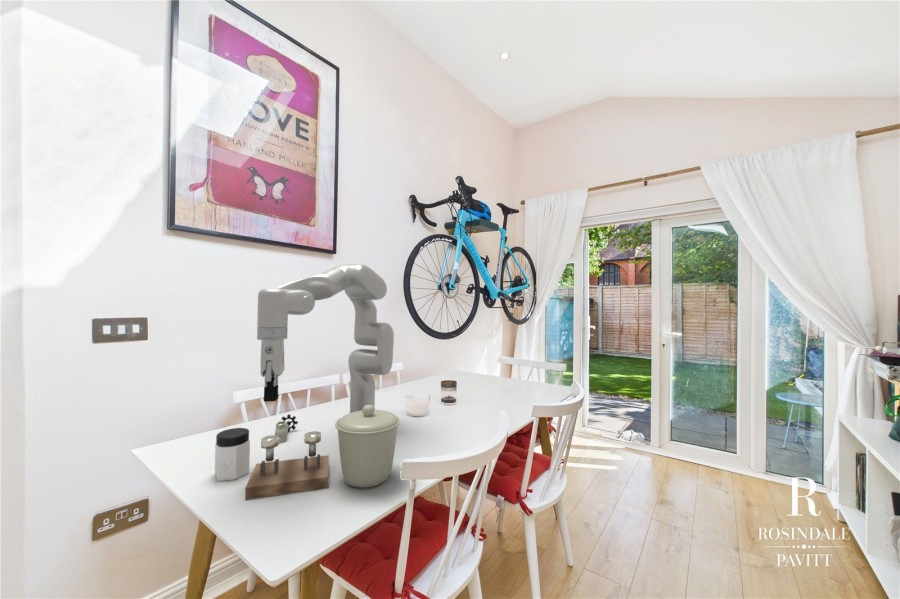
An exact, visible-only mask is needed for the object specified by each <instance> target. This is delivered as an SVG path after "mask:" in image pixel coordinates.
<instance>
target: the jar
mask: <svg viewBox="0 0 900 599" xmlns="http://www.w3.org/2000/svg"><path fill="white" fill-rule="evenodd" d="M215 438H216V441H215V444H214V445H215V446H214V448H215V450H214V451H215V452H214V454H215V455H214V456H215V457H214V476H215V478H216V480H217V481H218V482H224V481H234V480H235V481H236V480H238V479H239V478H241V477H243V476H245V475H247V474H248V473H249V472H250V459H251V458H250V454H251V453H250V452H251V450H250V449H251V448H250V447H251V446H250V445H251V441H250V430H249V429H248V428H245V427H235V428H229V429H225V430H222V431H220V432H218V433H217V434H216V437H215Z"/></svg>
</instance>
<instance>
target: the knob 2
mask: <svg viewBox="0 0 900 599" xmlns="http://www.w3.org/2000/svg"><path fill="white" fill-rule="evenodd" d="M303 439H304V444H306V445H308V457H309V458H310V457H317V456H316V455H317V444H318V443H320V442H321V441H322V432H321V431H319V430H318V431H316V430H315V431H309V432H306V433H305V434H304V438H303Z"/></svg>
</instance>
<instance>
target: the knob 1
mask: <svg viewBox="0 0 900 599" xmlns="http://www.w3.org/2000/svg"><path fill="white" fill-rule="evenodd" d="M279 445H280V443H279V436H277V435H275V434H270V435H266V436H264V437H262V438H261V439H260V448H261V449H265V462H266V463H267V462H274V461H275V457H274V456H275V448H277V447H278V446H279Z"/></svg>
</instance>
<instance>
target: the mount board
mask: <svg viewBox="0 0 900 599" xmlns="http://www.w3.org/2000/svg"><path fill="white" fill-rule="evenodd" d="M316 455H317V456H313V457H310V456H309V455H304V457H303V458H302V457H301V458H293V459H286V460H280V459H279V458H276V459H275V458H274V461H270V462H267V461H266V460H261V462H260V463H255V465H254V468H253V469H252V472H251V475H250V477H249V479H248V480H247V483H246V485H245V488H244V500H246V501H247V500H254V499H261V498H267V497H273V496H281V495H288V494H295V493H296V494H297V493H302V492H309V491H315V490H322V489H329V486H330V485H329V480H330V478H329V475H330V474H329V471H330V469H329V468H330V456H329V455H327V454H326V455H321V454H316Z"/></svg>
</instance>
